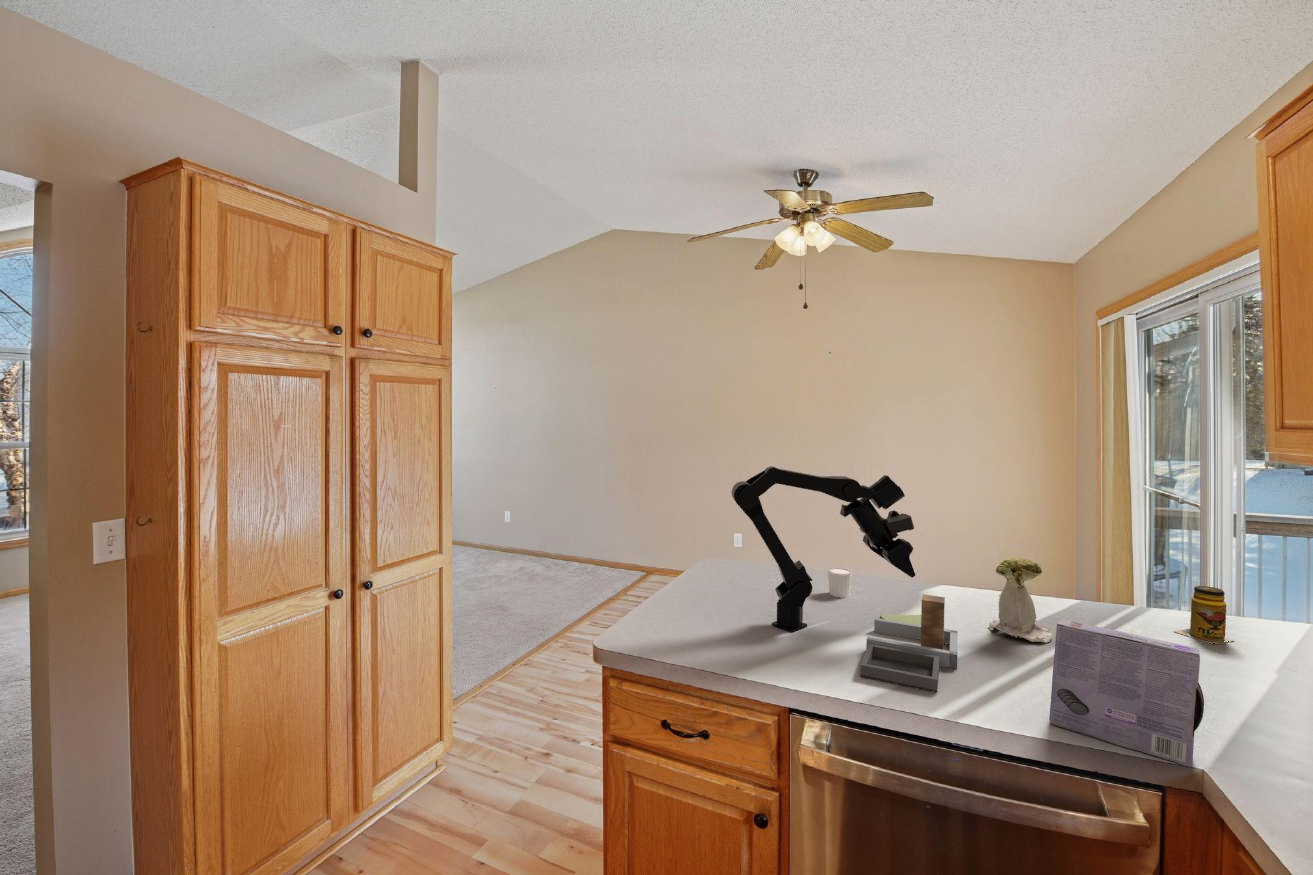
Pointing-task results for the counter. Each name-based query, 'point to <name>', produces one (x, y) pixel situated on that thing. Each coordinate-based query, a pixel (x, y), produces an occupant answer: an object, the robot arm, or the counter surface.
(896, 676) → the tray
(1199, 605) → the condiment
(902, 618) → the mat
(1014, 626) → the mushroom
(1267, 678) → the counter surface
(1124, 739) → the cake pan box
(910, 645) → the channel
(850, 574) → the white cup
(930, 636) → the walnut block
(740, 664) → the counter surface
